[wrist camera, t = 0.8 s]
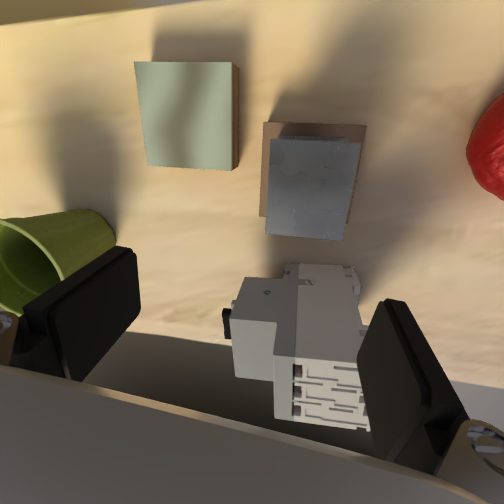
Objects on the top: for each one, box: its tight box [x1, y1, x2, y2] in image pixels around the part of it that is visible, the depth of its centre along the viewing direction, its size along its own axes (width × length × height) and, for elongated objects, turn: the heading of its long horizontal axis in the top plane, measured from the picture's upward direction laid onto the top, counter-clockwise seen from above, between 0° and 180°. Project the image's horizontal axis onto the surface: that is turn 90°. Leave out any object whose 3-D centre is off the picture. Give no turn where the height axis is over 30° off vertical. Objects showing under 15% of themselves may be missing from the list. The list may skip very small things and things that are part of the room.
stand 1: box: [134, 62, 239, 171], centre depth 27 cm, size 9×9×3 cm
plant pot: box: [0, 209, 115, 317], centre depth 32 cm, size 12×12×11 cm
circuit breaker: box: [222, 263, 370, 431], centre depth 29 cm, size 8×14×15 cm, turn 93°
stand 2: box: [259, 122, 367, 224], centre depth 27 cm, size 9×9×3 cm
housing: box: [265, 135, 361, 241], centre depth 23 cm, size 6×7×7 cm
